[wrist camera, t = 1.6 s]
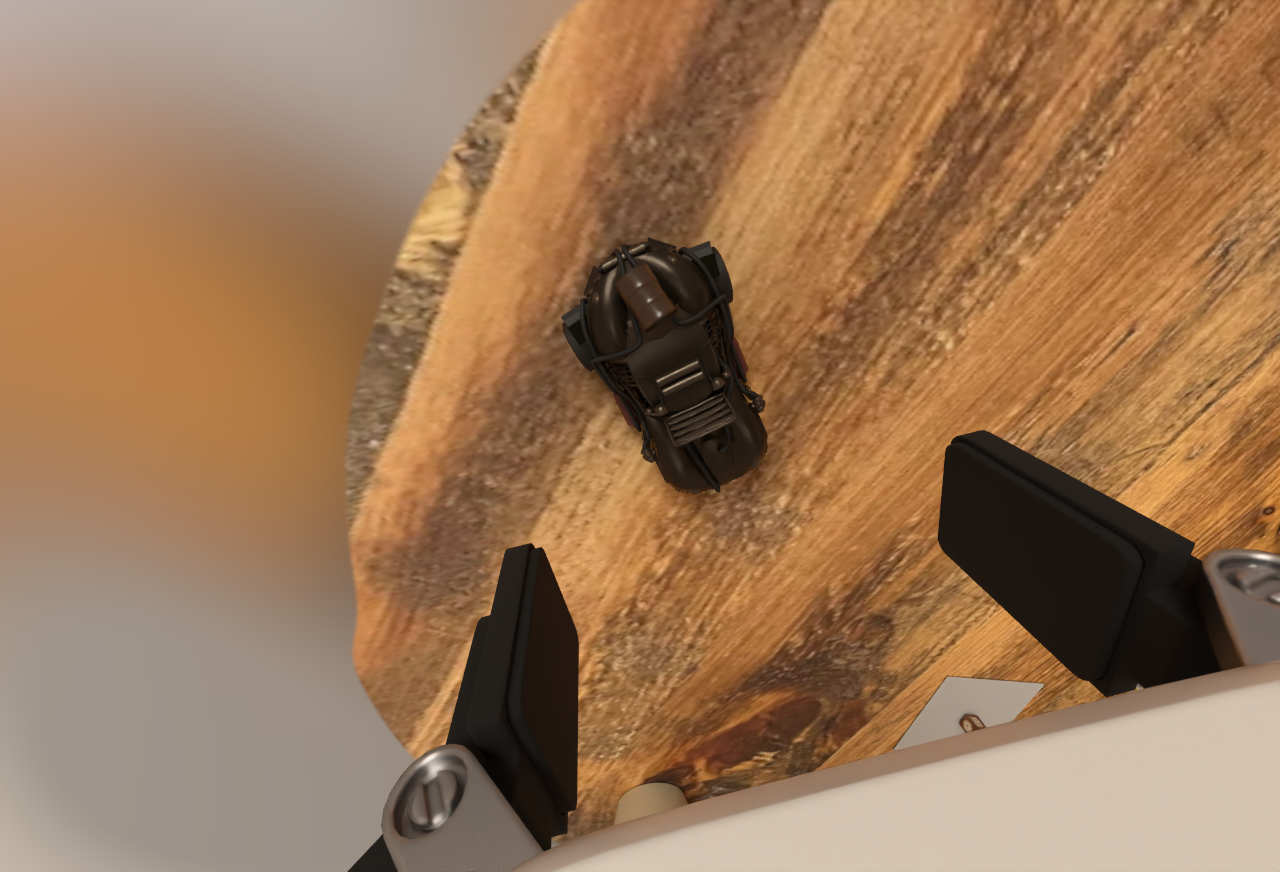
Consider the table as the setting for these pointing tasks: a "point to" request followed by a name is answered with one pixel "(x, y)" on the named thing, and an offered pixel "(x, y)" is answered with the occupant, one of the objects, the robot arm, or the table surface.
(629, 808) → the mug
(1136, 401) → the table surface
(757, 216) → the table surface
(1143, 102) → the table surface
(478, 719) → the robot arm
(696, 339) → the toy car
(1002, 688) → the gray square plate
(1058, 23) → the table surface
